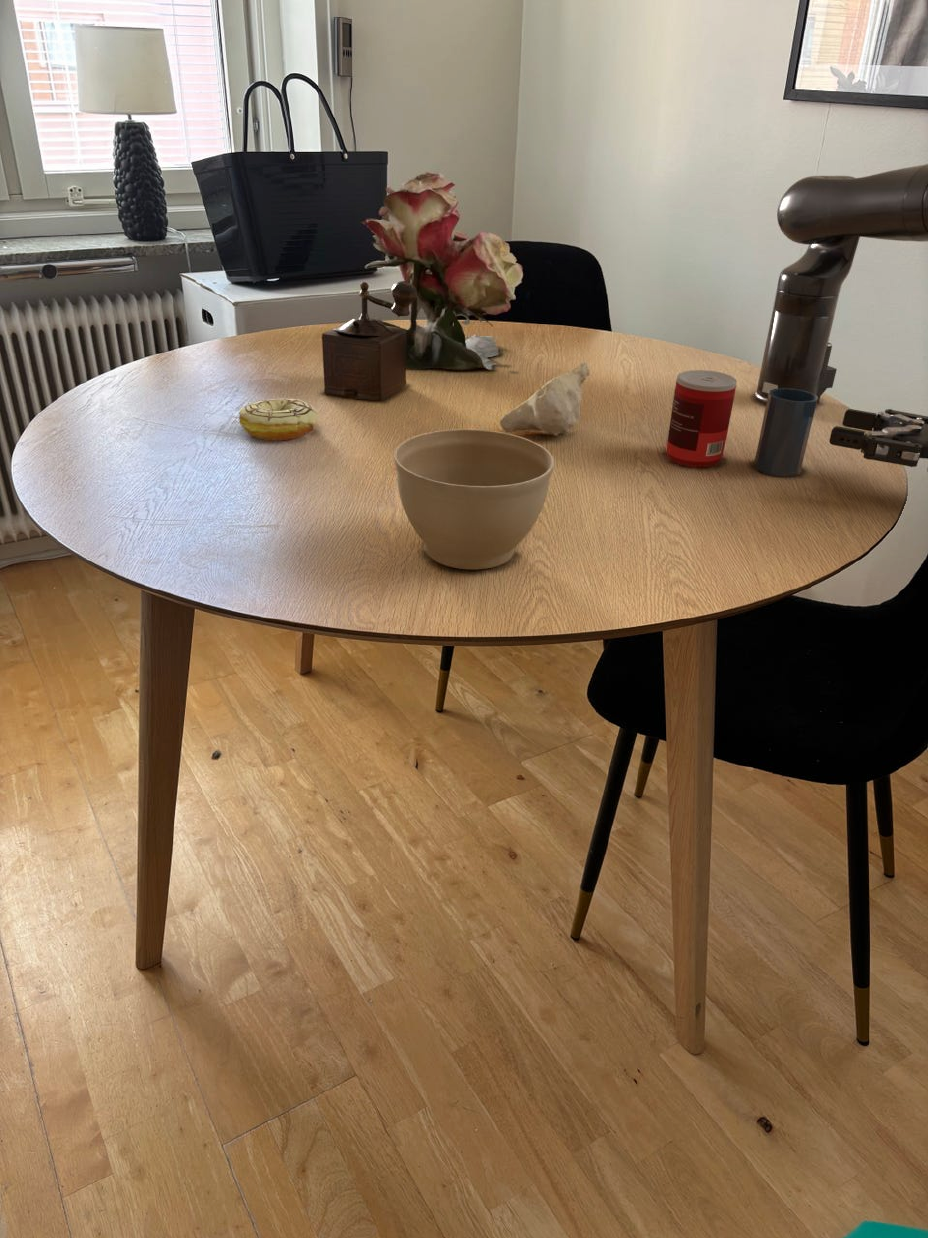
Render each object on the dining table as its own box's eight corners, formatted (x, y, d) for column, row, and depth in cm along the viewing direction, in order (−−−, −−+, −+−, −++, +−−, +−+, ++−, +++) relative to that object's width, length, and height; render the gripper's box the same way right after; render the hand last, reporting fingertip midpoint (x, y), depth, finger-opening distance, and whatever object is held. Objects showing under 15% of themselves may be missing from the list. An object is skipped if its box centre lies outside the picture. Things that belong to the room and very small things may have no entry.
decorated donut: (333, 433, 128) (331, 407, 126) (266, 449, 121) (264, 421, 119) (292, 414, 134) (291, 389, 132) (227, 428, 128) (225, 402, 126)
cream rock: (526, 464, 125) (615, 396, 122) (494, 421, 124) (583, 351, 121) (530, 459, 140) (610, 398, 137) (502, 421, 139) (582, 359, 136)
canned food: (724, 452, 126) (739, 373, 120) (719, 471, 119) (734, 389, 114) (669, 444, 128) (681, 366, 122) (661, 463, 121) (673, 381, 116)
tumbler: (780, 458, 125) (796, 386, 120) (810, 473, 120) (827, 399, 115) (744, 462, 123) (759, 389, 118) (773, 478, 118) (789, 403, 113)
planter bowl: (428, 599, 87) (429, 494, 82) (374, 532, 100) (372, 437, 95) (573, 572, 93) (583, 473, 88) (505, 512, 106) (510, 422, 100)
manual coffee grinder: (319, 395, 143) (314, 275, 134) (350, 377, 152) (347, 263, 143) (410, 408, 139) (410, 285, 130) (436, 389, 148) (438, 273, 139)
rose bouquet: (519, 373, 157) (531, 182, 142) (351, 367, 157) (345, 176, 142) (514, 338, 179) (524, 169, 164) (366, 333, 179) (363, 164, 164)
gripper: (992, 405, 112) (854, 383, 118) (984, 437, 101) (833, 410, 108) (973, 463, 115) (841, 438, 122) (963, 499, 105) (819, 470, 112)
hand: (837, 425), depth 115 cm, fingers open, 8 cm apart
